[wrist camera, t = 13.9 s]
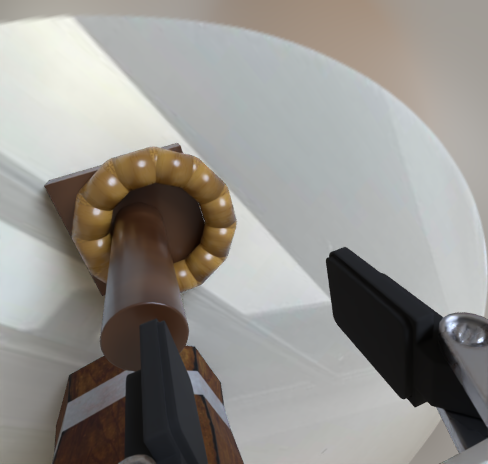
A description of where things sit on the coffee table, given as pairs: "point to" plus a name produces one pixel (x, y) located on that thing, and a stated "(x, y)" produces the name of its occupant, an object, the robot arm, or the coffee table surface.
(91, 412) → the mug
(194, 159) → the ring
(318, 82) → the coffee table surface
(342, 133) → the coffee table surface
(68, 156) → the coffee table surface
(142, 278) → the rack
